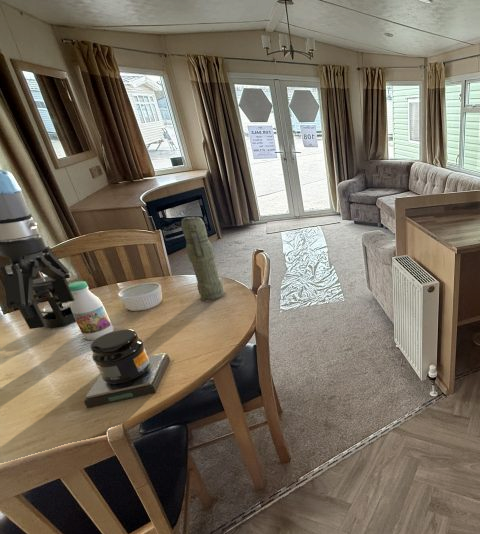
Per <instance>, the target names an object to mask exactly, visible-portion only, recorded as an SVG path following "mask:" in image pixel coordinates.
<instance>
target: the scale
mask: <svg viewBox="0 0 480 534" xmlns="http://www.w3.org/2000/svg"><path fill="white" fill-rule="evenodd" d="M170 362H171V359H170V356H169V354H166V353H165V357H164V359H163V361H162V363H161V365H160V367H159V370H158V372H157V374H156V376H155V378H154V380H153V382H152V384H151V385H148V386H144V387H139V388H134V389H130V390H125V391H120V392H116V393H111V394H107V395H102V396H97V397H93V398H88V399H87V398H86V397H85V398H84V400H83V403H84V404H85V407H86V408H87V409H88V408H94V407H98V406H103V405H107V404H112V403H115V402H116V403H117V402H119V401H120V402H121V401H125V400H129V399H130V400H131V399H134V398H139V397H143V396H148V395H151V394H156V393H157V391H158V389H159V387H160V385H161V383H162V380H163V377H164V376H165V373H166V371H167V369H168V366H169V365H170Z"/></svg>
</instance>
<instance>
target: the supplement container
mask: <svg viewBox="0 0 480 534" xmlns="http://www.w3.org/2000/svg"><path fill="white" fill-rule="evenodd" d="M89 347H90V350H91V352H92V357H91V358H92V360H93V362H94V363H95V366H96V367H97V369H98V371H99V373H100V375H102V378H103V380H104V381H105V382H106V383H109V384H120V383H125V382H128V381H131V380H133V379H135V378H137V377H139V376H141V375H142V374H144V373H145V372H146V371H147V370H148V368H149V367H150V360H149V359H148V356H149V355H148V354H147V351H146V349H145V346H144V342H143V340H142V339H140V338H139V336H138V334H137V332H136V331H135V330H134V329H129V328H128V329H126V328H125V329H118V330H113V332H110V333H107V334H105V335H102V336H100V337H99V338H97V339H94V340H92V342H91V343H90V344H89Z"/></svg>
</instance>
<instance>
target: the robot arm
mask: <svg viewBox="0 0 480 534" xmlns="http://www.w3.org/2000/svg"><path fill="white" fill-rule="evenodd" d="M37 226H38V223H37V222H35V219H34V218H33V214H32V213H31V211H30V210H29V207H28V205H27V202H26V199H25V197H24V194H23V192H22V188H21V186H19V184H18V182H17V180H16V178H15V177H14V175H13V174H12V173H11V172H10V171H8V170H6V169H0V257H2V258H7V259H9V263H10V264H9V265H1V266H0V271H1V273H2V276H3V282H4V291H5V300H6V301H5V302H6V307H7V309H18V311H19V312H20V314H21V316H22V318H23V319H24V321H25V323H26V325H27V326H28V329H29V330H33V329H41V328H45V327H46V323H45V321H44V319H43V317H42V315H41V313H40V311H39V309H38V308H37V306H36V304H35V303H34V302H32V301H33V299H32V296H33V280H34V279H37V274H38V273H39V271H40V272H41V274H42V275H45V277H46V276H48V277H50V278H51V279H53V281H51V283H52V285H53V288H54V290H55V292H56V294H57V296H58V298H59V300H60V303H62V302H70V301H74V300H75V299H74V297H73V295H72V293H71V290H70V288H69V286H68V285H69V284H68V282H67V279H70V278H71V275H70V274H69V273H70V271H69V269H68V268H67V267H66V266H65V265H64V264H63V263H62V262H61V261H60V259H58V257H57V256H56V255H55V254H54V253H53V252H52V249H51V248H50V246H47V245H46V243H45V240H44V239H43V236H42V235H41V234H39V232H40V231H39V228H38V227H37Z"/></svg>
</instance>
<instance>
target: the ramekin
mask: <svg viewBox="0 0 480 534" xmlns="http://www.w3.org/2000/svg"><path fill="white" fill-rule="evenodd" d="M162 293H163V292H162V286H161V284H160V283H158V282H143V283H137V284H133V285H131V286H127V287H126V288H123V289H122V290H120V291H119V292H118V293H117V296H118V298H119V300H121V302H122V304H123V306H124V307H125V309H127V310H129V311H132V312H139V311H141V312H142V311H145V310H149V309H152V308H155V307H157V306H158V305H159V304H160V303H161V302H162V301H163V294H162Z"/></svg>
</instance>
